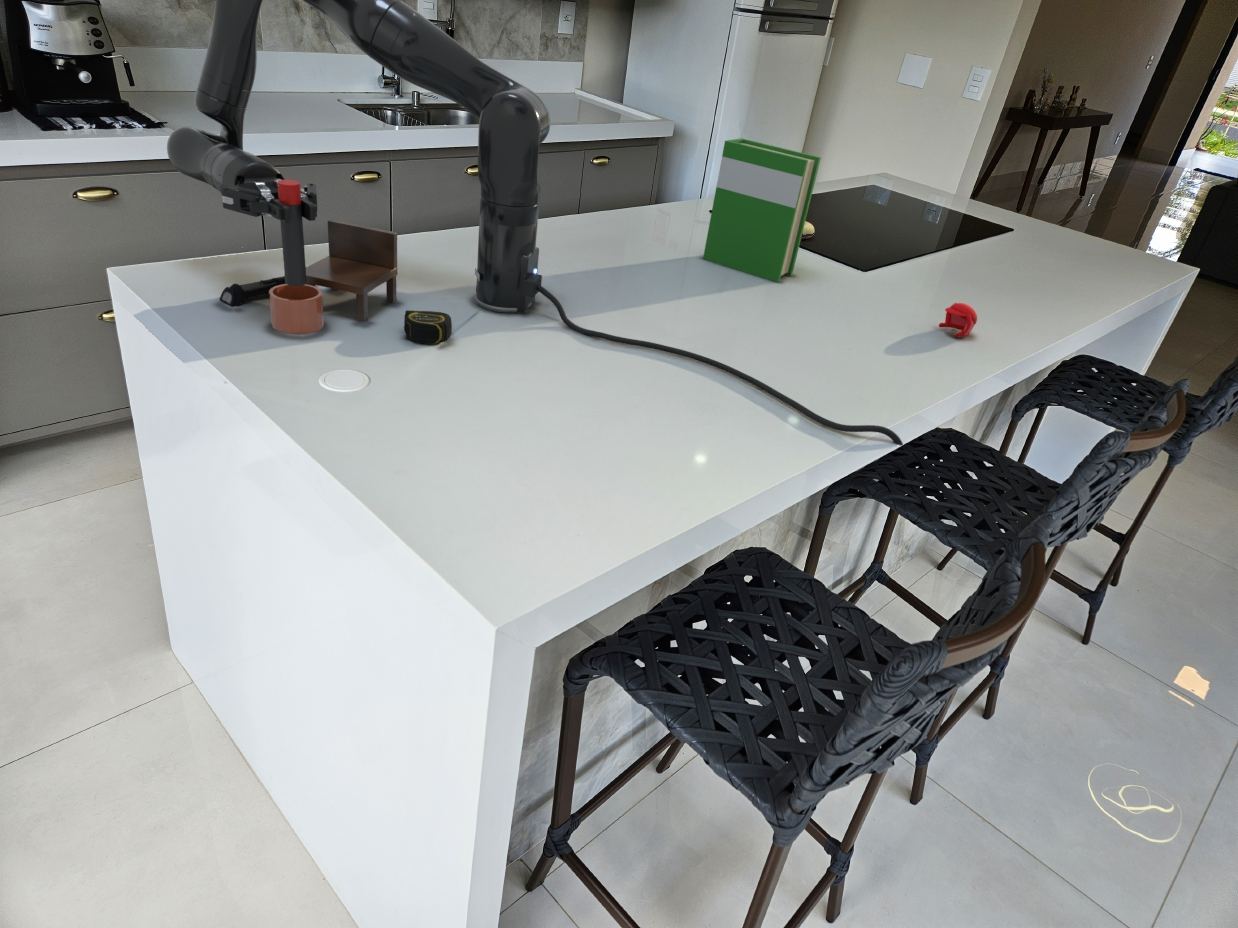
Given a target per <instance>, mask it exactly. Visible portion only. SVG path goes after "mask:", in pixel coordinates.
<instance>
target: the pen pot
mask: <svg viewBox="0 0 1238 928" xmlns="http://www.w3.org/2000/svg"><path fill="white" fill-rule="evenodd" d="M268 299H269V312H270V324H271V327H272V329H274V330H276V331H277V332H280V333H282V334H289V335H308V334H313V333H316V332H319V331H321V330H322V329H323V328H324V325H325V317H324V299H323V290H322V289H321V288H319V287H317V286H316V285H315V286H312V285H307V284H305V285H302V286H291V285H288V284H282V285H278V286H275V287H273V288H271V289H270V290H269V297H268Z"/></svg>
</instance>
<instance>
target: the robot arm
mask: <svg viewBox="0 0 1238 928" xmlns="http://www.w3.org/2000/svg"><path fill="white" fill-rule="evenodd" d="M302 1H303V2H304V3H306V4H307V5H309V6H311V7H312V8H314V9H315V10H317V11H318V12H319V13H321V14H323V15H324V16H325V17H326V18H327V19H328V20H329V21H331V22H332V24H333V25H334V26H335V27H336V28H337V29H338V30H339V31H340V32H341V33H342V34H343V35H344V36H345V37H346V38H347V39H348V40H349V41H350V42H351V43H352V44H353V45H354V46H355V47H357V48H358V49H359V50H360V51H361V52H362V53H364V54H365V55H366V56H367V57H368V58H370V59H372V60H373V61H375V62H376V63H377V64H379V65H381V66H382V67H383V68H384V69H386V70H388V71H389V72H391V73H392V74H394V75H395V76H397V77H399V78H400V79H402V80H404V81H406V82H408V83H410V84H412V85H414V86H416V87H419V88H421V89H423V90H426V91H427V92H431V93H433V94H436V95H438V96H441V97H443V98H445V99H448V100H450V101H452V102H454V103H456V104H457V105H459V106H461V107H462V108H464V109H465V110H466V111H468V112H469V113H470V114H472V115H473V116H475V117H476V118H477V119H478V120H479V122H478V134H477V135H478V137H477V138H478V140H477V176H478V181H479V183H480V197H479V198H480V200H479V218H478V219H479V220H478V221H479V222H478V240H477V241H478V243H477V263H476V267H474V275H475V277H476V282H475V283H476V286H475V295H474V301H475V303H476V304H477V305H478V306H479V307H481V308H483V309H486V310H490V311H493V312H498V313H519V314H525V313H526V312H527V311H528V310H529V309H530V308H531V307H532V306H533V305H534V304H535V302H536V296H537V294H538V293H540V294H542V295H543V296H544V297H545V298H546V299H548V300H549V301H550V302H551V304H552V305H554V307H555V308H556V310H557V312H558V315H559V317H560V319H561V321H562V323H564V324H565V326H567V327H568V328H569V329H571V330H572V331H575V332H577V333H579V334H582V335H584V336H589V337H594V338H597V339H603V340H606V341H610V342H613V343H614V342H615V343H619V344H623V345H624V344H625V345H630V346H636V347H640V348H641V347H642V348H647V349H652V350H655V351H656V350H657V351H661V352H665V353H670V354H673V355H677V356H681V357H685V358H688V359H690V360H694V361H697V362H701V363H704V364H706V365H709V366H712V367H715V368H717V369H718V370H719V369H720V370H722V371H724V372H727V373H729V374H730V375H733V376H735V377H737V378H739V379H741V380H743V381H745V382H747V383H749V384H751V385H754V386H755V387H757V388H758V389H760V390H762V391H764V392H765V393H767V394H769V395H771V396H772V397H774V398H776V399H778V400H779V401H781V402H783V403H784V404H786V405H788V406H790V407H791V408H793V409H795V410H797V411H798V412H799V413H801V414H803V415H804V416H806V417H807V418H809V419H811V420H813V421H814V422H816V423H818V424H820V425H822V426H824V427H827V428H830V429H833V430H836V431H839V432H845V433H879V434H882V435H885V436H886V437H888V438H889V439H890V440H892V441H893V443H894V444H895V445H898V446H903V445H904V443H903V441H902V439H901V437H899V435H898V433H896V432H895V431H893V430H892V429H890V428H888V427H885V426H883V425H882V426H881V425H874V424H864V425H863V424H861V425H857V424H856V425H855V424H854V425H851V424H843V423H838V422H835V421H832V420H830V419H827V418H825V417H823V416H821V415H819V414H817V413H815V412H813V411H812V410H811V409H809V408H807V407H806V406H804V405H803V404H801V403H799V402H797V401H796V400H794V399H793V398H790V397H788V396H787V395H786V394H783V393H782V392H780V391H778V390H776V389H774V388H773V387H772V386H770V385H768V384H766V383H764V382H762V381H761V380H758V379H757V378H755V377H753V376H750V375H749V374H747V373H744V372H743V371H740V370H739V369H736V368H734V367H731V366H730V365H727V364H725V363H723V362H720V361H718V360H715V359H712V358H709V357H707V356H703V355H701V354H698V353H694V352H692V351H689V350H685V349H680V348H678V347H677V348H676V347H673V346H668V345H664V344H661V343H656V342H651V341H646V340H640V339H634V338H628V337H623V336H617V335H614V334H609V333H605V332H601V331H597V330H592V329H587V328H583V327H581V326H579V325H578V324H576V323H574V322H573V321H571V320H570V319H569V318H568V316H567V315H566V312H565V309H564V307H563V305H562V303H561V302H560V301H559V300H558V298H556V296H555V295H554V294H552V293H551V292H550V291H549V290H547V289H546V288H545V287H543V286H542V279H543V275H542V274H538V270H539V269H538V268H539V257H540V248H539V247H538V246H537V236H538V235H537V234H538V224H539V211H540V202H541V201H540V199H541V186H540V183H539V180H538V169H539V168H538V167H539V166H538V165H539V152H540V151H539V150H540V145H541V144H542V143H543V142H544V141H545V140H546V138H547V137H548V135H549V133H550V130H551V115H550V112H549V108H548V107H547V105H546V103H545V101H544V100H543V99H542V97H541V96H540V95H538V94H537V92H535V91H533V90H532V89H530V88H529V87H527V86H525V85H524V84H522V83H519V82H518V81H516V80H514V79H512V78H511V77H508V76H507V75H505V74H504V73H502V72H500V71H498V70H497V69H495V68H493V67H491V66H490V65H488V64H486V63H485V62H484V61H482V60H481V59H479V58H478V57H476V56H475V55H474V54H472V53H471V52H470V51H468V50H467V49H466V48H465V47H464V46H463V45H462V44H460V43H459V42H457V40H455V39H454V38H453V37H451V36H450V35H449V34H448V33H446V32H445V31H443V30H442V29H441V28H440V27H439V26H437V25H435V24H434V23H433V22H431V21H430V20H429V19H428V18H426V17H425V16H424V15H422V14H421V13H420V12H419V11H417V10H415V9H414V8H413V7H412V6H410V5H409V4H407V3H406V2H404V1H403V0H302ZM262 4H263V0H215V2H214V10H213V17H212V25H211V30H210V35H209V40H208V44H207V49H206V53H205V57H204V61H203V64H202V66H201V67H202V68H201V72H200V75H199V79H198V83H197V87H196V90H195V94H194V101H193V102H194V107H195V108H196V110H197V111H198V112H199V113H200V114H203V115H204V116H206V117H207V118H209V119H211V120H213V121H215V122H216V123H218V124H219V128H220V133H219V134H217V133H213V132H210V131H207V130H204V129H200V128H197V127H193V126H190V125H189V126H188V125H184V126H179V127H178V128H176V129H174V130H173V131H172V132H171V133H170V135H169V137H168V139H167V142H166V153H167V157H168V160H169V162H170V163H171V165H172V166H173V167H174V168H175V170H176V171H178V172H179V173H180V174H182V175H185V176H187V177H190V178H192V179H195V180H197V181H200V182H202V183H204V184H207V185H210V187H211V186H212V188H214V189H215V190H216V191H218V192H220V194H221V202H222V209H226V210H229V211H232V212H236V213H239V214H244V215H246V216H251V217H253V218H258V217H261V216H266V217H269V218H274V219H275V220H279V221H280V220H281V221H282V222H284V223H290V209H289V206H288V205H286V204H284V203H283V202H281V201H279V196H278V184H277V182H278V181H280V180H286V179H285V177H284V175H283V174H282V173H281V172H280V170H279V169H278V168H277V167H276V166H274V165H273V164H271V163H269V162H267V161H265V160H264V159H262V158H260V157H259V156H257V155H255V154H253V153H251V152H249V151H245V150H244V124H245V114H246V111H247V107H248V105H249V100H250V97H251V94H252V90H253V88H254V87H253V86H254V84H255V78H256V72H257V64H258V63H257V62H258V60H257V59H258V52H257V51H258V50H257V37H258V36H257V34H258V22H259V16H260V13H261V12H260V11H261V7H262ZM300 190H301V205H302V218H304V219H305V220H307V221H308V222H313V221H316V218H317V217H318V194H317V193H318V192H317V184H315V183H313V182H310V183H307V185H304V186H303V188H300Z"/></svg>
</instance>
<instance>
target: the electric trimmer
mask: <svg viewBox="0 0 1238 928" xmlns="http://www.w3.org/2000/svg"><path fill="white" fill-rule="evenodd" d="M282 284H286V283H285V275H284V276H283V275H282V276H278V277H273V278H269V279H260V281H255V282H250V283H245V284H238V283H233V284H232V285H231V286H226V287H225V288H224V289H223V291H222V292H221V294H220V296H219V302H222V303H223V304H225V305H227V306H229V307H230V308H234V307H240V306H241V305H242V304H245V303H250V302H255V301H259V300H263V299H269V290H270V289H271V288H273V287H275V286H278V285H282ZM308 285H312V286H315V287H316V285H313V284H309V283H308Z"/></svg>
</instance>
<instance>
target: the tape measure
mask: <svg viewBox="0 0 1238 928" xmlns="http://www.w3.org/2000/svg"><path fill="white" fill-rule="evenodd" d="M404 313H405V314H404V318H403V319H404V320H403V322H404V324H403V325H404V326H403V329H404V330H403V331H404V334H405V336H406V338H407V339H409V340H410V341H411V342H415V343H418V344H425V345H436V344H443V343H445V342H447V341H449V339H450V338H451V337H452V330H453V323H452V317H451V316H450V314H448V313H445V312H441V311H431V310H405V312H404Z"/></svg>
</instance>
